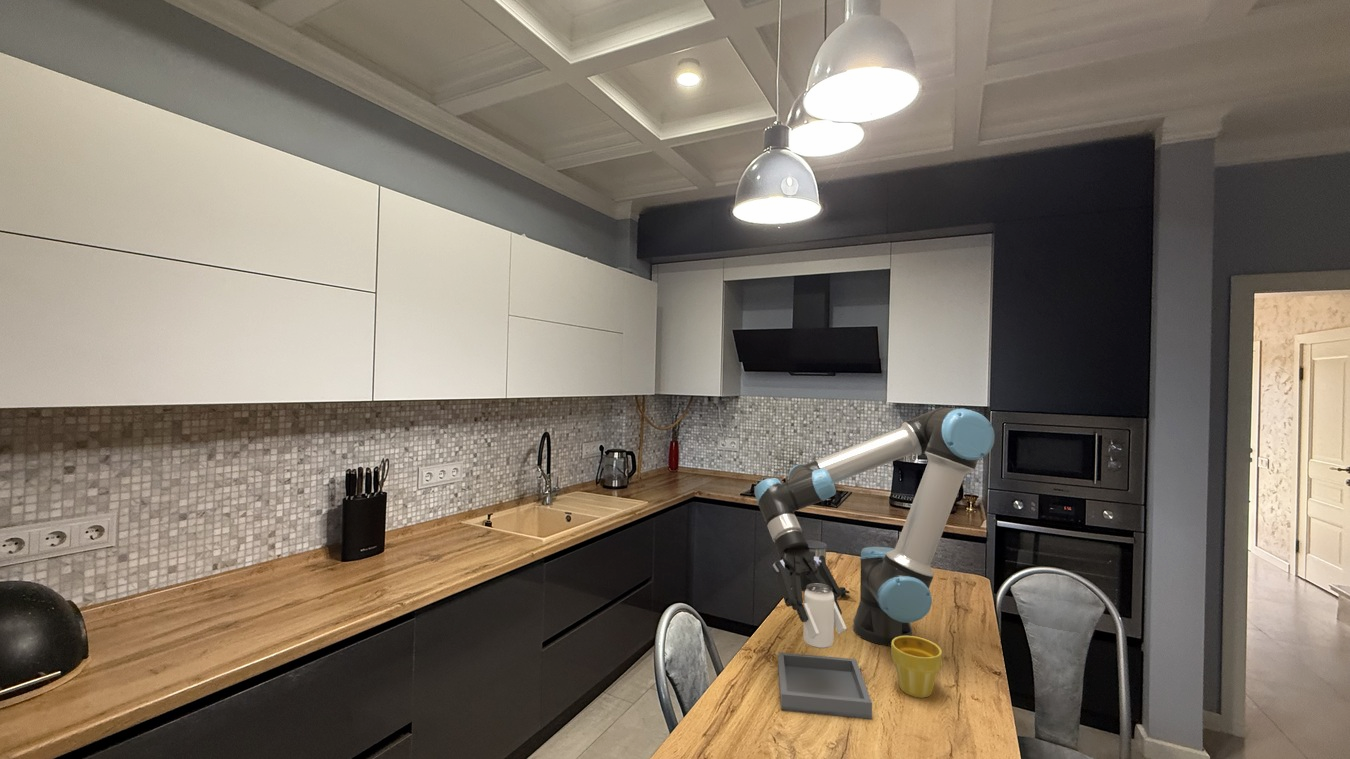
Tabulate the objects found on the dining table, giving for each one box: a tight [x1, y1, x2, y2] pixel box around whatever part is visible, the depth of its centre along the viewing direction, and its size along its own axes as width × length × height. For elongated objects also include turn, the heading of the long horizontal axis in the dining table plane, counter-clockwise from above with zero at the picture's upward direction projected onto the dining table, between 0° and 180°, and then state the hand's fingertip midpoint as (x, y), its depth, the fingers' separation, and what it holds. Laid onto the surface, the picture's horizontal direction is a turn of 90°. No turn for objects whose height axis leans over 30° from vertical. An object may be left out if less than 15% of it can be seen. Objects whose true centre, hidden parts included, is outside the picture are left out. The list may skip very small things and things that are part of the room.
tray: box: [777, 651, 873, 720], centre depth 121 cm, size 18×18×3 cm
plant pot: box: [890, 635, 943, 699], centre depth 122 cm, size 10×10×10 cm
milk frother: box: [800, 539, 850, 597], centre depth 179 cm, size 14×16×15 cm
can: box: [802, 583, 835, 649], centre depth 121 cm, size 6×6×12 cm
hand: (828, 633), depth 118 cm, fingers closed on can, 6 cm apart
